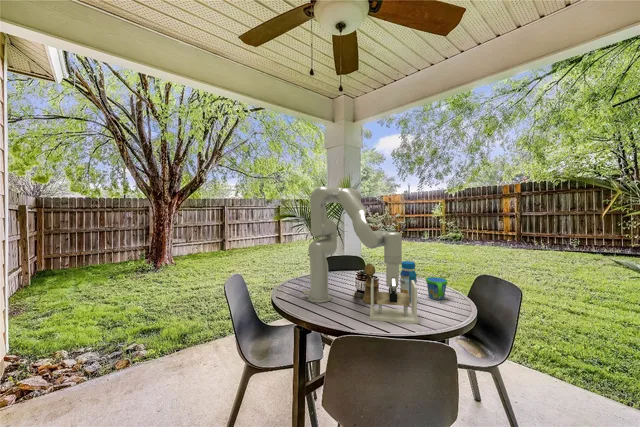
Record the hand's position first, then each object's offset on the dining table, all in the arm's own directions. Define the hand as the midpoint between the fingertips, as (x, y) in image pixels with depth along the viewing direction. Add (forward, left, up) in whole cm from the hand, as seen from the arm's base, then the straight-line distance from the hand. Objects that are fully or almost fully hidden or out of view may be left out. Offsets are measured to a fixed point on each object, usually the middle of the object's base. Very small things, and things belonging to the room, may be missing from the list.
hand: (392, 298), depth 125 cm
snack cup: (+24, +30, -8) cm, 39 cm away
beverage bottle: (+9, +24, -8) cm, 27 cm away
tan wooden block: (0, 0, -2) cm, 2 cm away
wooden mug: (-10, +21, -8) cm, 25 cm away
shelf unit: (0, 0, -8) cm, 8 cm away
